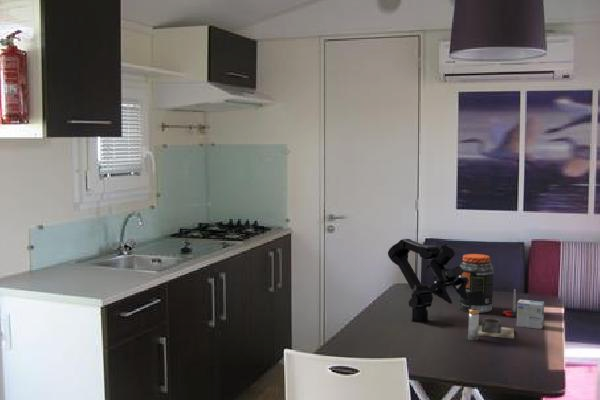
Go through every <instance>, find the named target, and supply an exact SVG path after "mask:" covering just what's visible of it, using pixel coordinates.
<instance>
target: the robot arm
mask: <svg viewBox="0 0 600 400" xmlns="http://www.w3.org/2000/svg"><path fill="white" fill-rule="evenodd" d="M388 249H389V250H388V252H387V255H388V258H389V259H390V261H391V262H392V263H393V264H395V265H397V266H398V268H399V270H400V271H401V273H402V275H403V278H405V280H406V283H407V284H408V286H409V287H410V289H411V293H410V296H411V298H410V299H409V300H408V306H409V308H412V309H411V310H412V313H411V322H418V323H427V321H428V320H429V309H428V308H431V306H432V304H433V299H434V297H433V295H434V296H437V297H439V298H440V299H442V300H444V301H445V302H446V303H448V304H449V305H451V304H453V301H452V298H451V296H450V295H449V293H448V292H447V288H454V289H455V292H456V293H457V294H458V296H459V295H460V296H461V297H462V298H463V299H464V300H465V301H467V300H468V298H467V293H466V285H467V284H468V282H469V280H468V279H467V277H460V278H459V275H462V273H463V269H462V267H461V266H460V265H458V266H455V268H447V267H446V266H447V265H448V264H449V263H450V261H452V259H453V258H454V257H455V251H454V249H453V248H451V247H449V246H448V245H447V244H442V245H441V246H440V248H439V246H437V245H425V244H422V243H421V242H417V241H415V240H412V239H411V238H402V239H400V240H399V241H398V242H397V243H395V244H393V245H391V247H389V248H388ZM410 251H411V252H413V253H416V254H418V255H419V257H420V258H422V259H423V260H425V261H429V260H430V261H429V262H427V265H426V269H427V270H429V269H431V271H432V272H433V274H434V277H433V279H434V280H435V281H434V282H432V284H431V285H430V286H428V285H427V284H424V285H423V284H422V283H421V281H420V280H419V278H418V276H417V274H416V272H415V270H414V269H413V267H412V265H411V263H410V262H409V253H410ZM457 277H458V278H457Z"/></svg>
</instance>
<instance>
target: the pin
mask: <svg viewBox="0 0 600 400" xmlns="http://www.w3.org/2000/svg"><path fill="white" fill-rule="evenodd" d="M479 323H480V313H479V310H478V309H469V312H468V327H467V331H468V332H467V339H468V340H469V341H478V340H479V335H478V328H479Z"/></svg>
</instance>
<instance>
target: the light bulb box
mask: <svg viewBox="0 0 600 400" xmlns="http://www.w3.org/2000/svg"><path fill="white" fill-rule="evenodd" d="M516 303H517V304H516V311H517V317H516V327H521V328H528V329H529V328H532V329H538V330H542V329H543V327H544V317H545V315H544V314H545V312H544V309H545V302H544V301H539V300H536V301H535V300H528V299H519V300H518V301H517V302H516Z"/></svg>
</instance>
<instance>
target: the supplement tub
mask: <svg viewBox="0 0 600 400" xmlns="http://www.w3.org/2000/svg"><path fill="white" fill-rule="evenodd" d="M459 266H461V267H462V269H463V273H462V275H459V276H458V278H460V277H467V279H468V280H469V282H468V284H467V285H466V293H467V298H468V300H467V301H465V300H464V299H463V298H462V297H461V296H460V295H459V294H458V303H457V304H458V308H459V309H460V310H461V311H463V312H467V313H469V309H478V310H479V314H480V313H481V314H482V313H488V312H491V311H492V309H493V300H494V299H493V296H494V295H493V294H494V267H493V265H492V264H491V257H490V255H487V254H481V253H468V254H463V256H462V262H461V263H460V265H459Z"/></svg>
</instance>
